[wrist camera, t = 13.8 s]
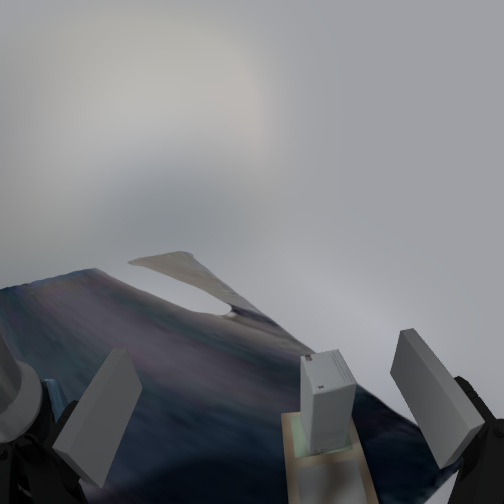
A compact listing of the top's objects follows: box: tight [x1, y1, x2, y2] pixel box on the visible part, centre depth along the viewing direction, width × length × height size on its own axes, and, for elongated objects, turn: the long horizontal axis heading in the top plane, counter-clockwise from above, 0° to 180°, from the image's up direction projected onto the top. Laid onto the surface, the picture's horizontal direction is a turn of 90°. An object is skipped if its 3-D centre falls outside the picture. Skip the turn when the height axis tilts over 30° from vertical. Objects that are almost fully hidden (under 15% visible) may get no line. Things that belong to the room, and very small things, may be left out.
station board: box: [281, 412, 379, 504], centre depth 32 cm, size 12×22×1 cm, turn 179°
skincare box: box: [300, 350, 357, 454], centre depth 35 cm, size 8×6×15 cm
